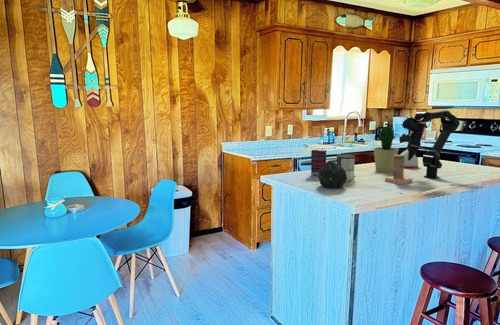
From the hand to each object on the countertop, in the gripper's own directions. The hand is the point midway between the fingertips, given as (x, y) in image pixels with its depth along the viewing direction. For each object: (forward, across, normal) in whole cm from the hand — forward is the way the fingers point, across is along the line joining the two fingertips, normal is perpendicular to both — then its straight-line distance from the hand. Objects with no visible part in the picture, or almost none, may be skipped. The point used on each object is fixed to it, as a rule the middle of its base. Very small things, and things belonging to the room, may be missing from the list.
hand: (409, 159), depth 196 cm
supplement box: (+23, 0, -47) cm, 53 cm away
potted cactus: (+8, -30, -12) cm, 34 cm away
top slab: (+14, +8, -2) cm, 16 cm away
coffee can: (+21, +6, -30) cm, 37 cm away
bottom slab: (+16, +8, -2) cm, 18 cm away
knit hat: (+1, -51, +1) cm, 51 cm away
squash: (+27, +27, -33) cm, 51 cm away
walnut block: (+12, +9, -3) cm, 15 cm away
